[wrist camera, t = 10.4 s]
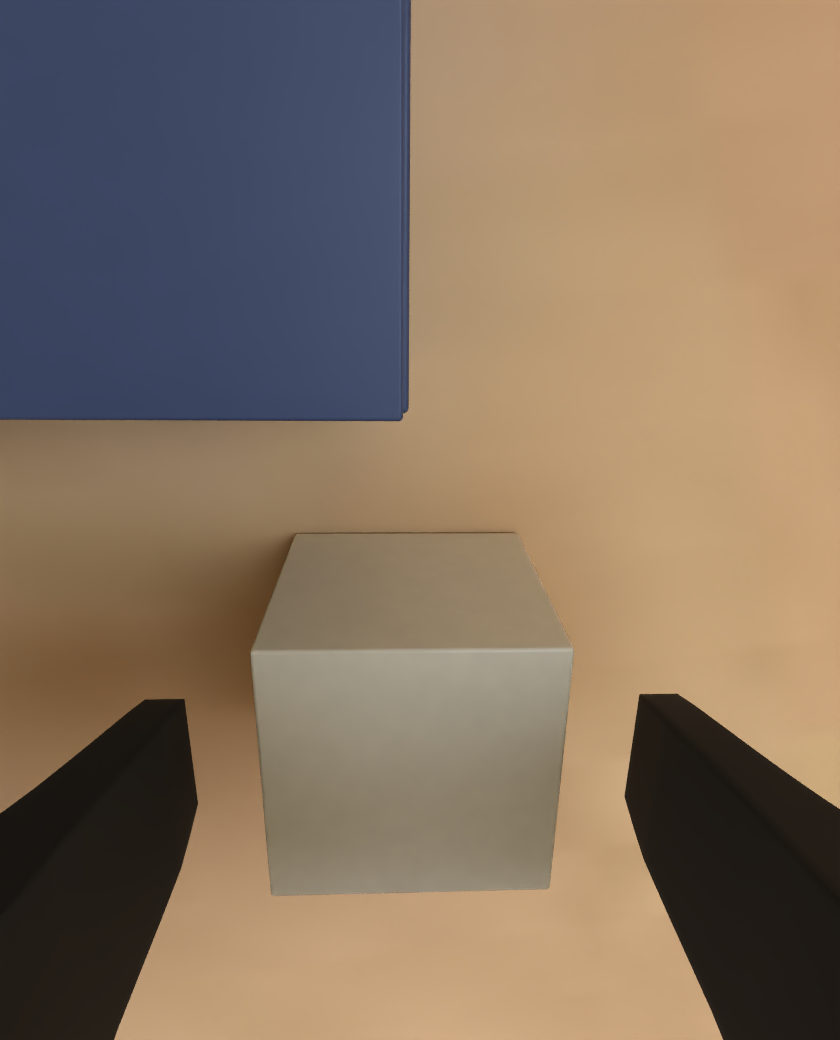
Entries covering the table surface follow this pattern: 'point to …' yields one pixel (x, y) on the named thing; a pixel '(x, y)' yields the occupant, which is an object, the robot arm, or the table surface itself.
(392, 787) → the block
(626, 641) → the table surface
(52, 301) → the carton
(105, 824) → the robot arm
